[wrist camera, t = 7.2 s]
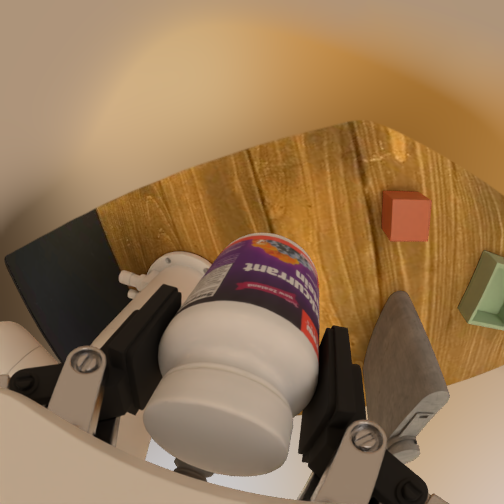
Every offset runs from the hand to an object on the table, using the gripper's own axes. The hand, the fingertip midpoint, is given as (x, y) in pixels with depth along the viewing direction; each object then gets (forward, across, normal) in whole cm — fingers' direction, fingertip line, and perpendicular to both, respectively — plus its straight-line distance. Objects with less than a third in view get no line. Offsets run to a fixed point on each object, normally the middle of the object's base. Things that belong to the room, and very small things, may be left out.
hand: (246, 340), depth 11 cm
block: (+25, -13, -2) cm, 28 cm away
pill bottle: (+5, 0, 0) cm, 5 cm away
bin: (+25, -32, +4) cm, 40 cm away
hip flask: (+25, -17, +16) cm, 34 cm away
